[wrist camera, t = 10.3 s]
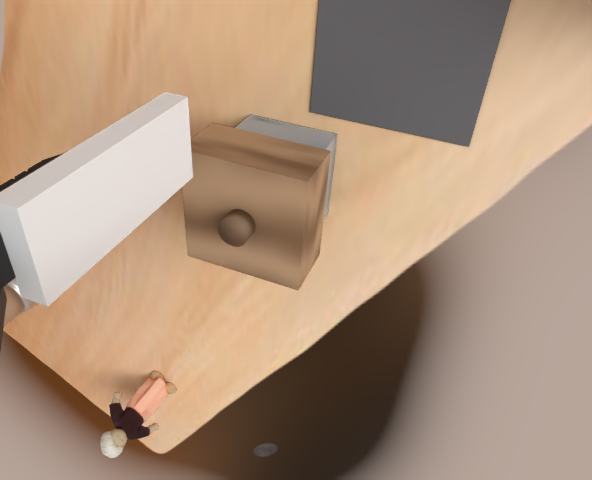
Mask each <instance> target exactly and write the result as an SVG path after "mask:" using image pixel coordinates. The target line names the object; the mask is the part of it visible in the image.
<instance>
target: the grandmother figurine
mask: <svg viewBox="0 0 592 480" xmlns="http://www.w3.org/2000/svg"><path fill="white" fill-rule="evenodd" d="M163 380H164V377H163V376H162V375H161V374H160V373H159V372H157V371H153V372H152V373H151V375H150V378H148V379H147V380H146V381H145V382H144V383H143V384H142V386H141V387H140V388H139V389H138V390H137V391H136V393H135V394H134V395H133V397H132V398H131V400H130V401H129V403H128V404H127V406H126V409H125V410H124V411H123V409H122V407H121V404H120V398H121V393H120V392H115V393H114V398H113V400H112V403H111V404H110V405H109V406H110V414H111V418H112V421H113V423H114V425H115V427H116V429H114V430H112V431H110V432H105V433H104V434H102V437H101V443H100V445H101V450H102V453H103V454H104V455H106V456H108V457H109V458H114V457H117V456H118V455H119V454H120V453H121V452H122V450H123V446H124V445H125V443H126V441H127V438H128V439H139V438H143V437H146V436H149V434H151V433H152V432H154V431H156V430H157V429H158V428H159V425H158V424H157V423H153V424H152V425H150V426H148V427H144V426H142V424H143V423H144V422H145V421H147V420H148V419H149V418H150V417H151V416H152V414H153V413H154V412H155V411H156V410H157V408H158V407H159V406H160V405H161V404H162V403H163V401H164V400H165V399H166V397H167V396H168V394H173V393H175V392H176V391H177V389H176V387H175V386H174V385H173V384H171V383H168V382H167V383H165V382H164V381H163Z"/></svg>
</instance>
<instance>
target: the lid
mask: <svg viewBox="0 0 592 480" xmlns="http://www.w3.org/2000/svg"><path fill="white" fill-rule="evenodd" d="M191 153H192V168H193V178H192V179H191V180H189V181H188V182H187V183H186V184H185V185H184V186H183V187H182V191H183V203H184V216H185V228H186V240H187V253H188V256H190V257H193V258H197V259H200V260H203V261H206V262H209V263H213V264H216V265H219V266H222V267H225V268H228V269H232V270H235V271H238V272H241V273H244V274H248V275H251V276H254V277H257V278H260V279H263V280H267V281H270V282H273V283H276V284H279V285H283V286H286V287H289V288H292V289H295V290H299V288H300V287H301V285H302V283H303V282H304V280H305V278H306V277H307V275H308V273H309V271H310V270H311V268H312V266H313V265H314V263H315V261H316V260H317V258H318V256H319V254H320V245H321V236H322V227H323V218H324V209H325V200H326V191H327V182H328V174H329V165H330V156H331V151H329V150H325V149H321V148H317V147H313V146H308V145H304V144H300V143H296V142H292V141H287V140H283V139H279V138H275V137H270V136H266V135H262V134H258V133H254V132H249V131H245V130H241V129H237V128H232V127H228V126H224V125H220V124H216V123H212V124H210V125H209V126H208V127H206V128H205V129H204V130H203V131H201V132H200V133H199V134H197V135H196V136H195V137H194V138H192V139H191Z"/></svg>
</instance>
